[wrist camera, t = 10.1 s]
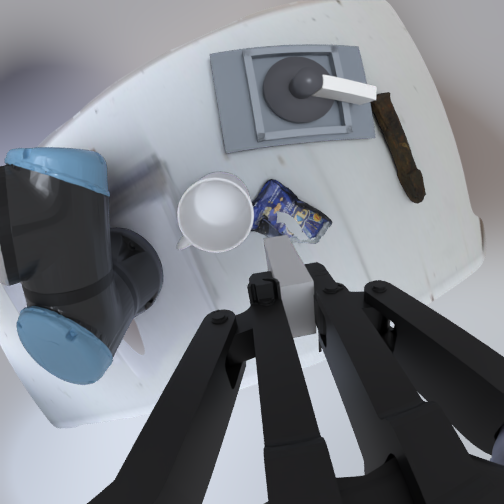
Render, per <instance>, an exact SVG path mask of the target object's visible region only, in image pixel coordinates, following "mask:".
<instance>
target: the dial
mask: <svg viewBox="0 0 504 504" xmlns="http://www.w3.org/2000/svg"><path fill="white" fill-rule="evenodd" d="M263 96H264V99H265V102H266V104H267V105H268V107H269V108H270V110H271V111H272V112H273V113H274V114H275V115H277V116H278V117H280V118H281V119H283V120H286V121H288V122H291V123H300V124H301V123H309V122H312V121H315V120H317V119H319V118H321V117H323V116H324V115H325V114H326V113H328V111H329V110H330V109H331V107H332V105H333V103H334V100H338V101H343V102H348V103H353V104H358V105H361V104H365V103H368V102H371V101H374V100H376V87H375V86H372V85H368V84H364V83H360V82H356V81H352V80H348V79H343V78H338V77H334V76H330V74H329V73H328V72H327V70H326V69H325V68H324V67H323V66H321V65H320V64H319V63H317V62H315V61H313V60H311V59H308V58H305V57H298V56H295V57H287V58H284V59H281V60H279V61H278V62H276V63H275V64H274V65H272V67H271V68H270V69H269V70H268V72H267V74H266V76H265V79H264V82H263Z"/></svg>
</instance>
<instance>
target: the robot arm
mask: <svg viewBox="0 0 504 504" xmlns="http://www.w3.org/2000/svg"><path fill="white" fill-rule="evenodd" d="M5 163H6V165H5V166H1V167H0V282H1V283H2V284H4V285H5V286H10V285H13V284H16V283H19V282H21V284H22V287H23V291H24V295H25V299H26V302H27V308H24V309H23V310H22V311H21V312H20V316H19V318H18V321H17V332H18V335H19V338H20V340H21V342H22V344H23V346H24V348H25V349H26V351H27V352H28V353H29V354H30V356H31V357H32V358H33V359H34V360H35V361H36V362H37V363H38V364H39V365H40V366H42V367H43V368H44V369H45V370H47V371H48V372H49V373H51V374H52V375H54V376H56V377H58V378H60V379H62V380H64V381H67V382H70V383H74V384H80V385H86V384H92V383H94V382H96V381H98V380H99V379H100V378H101V377H102V376H103V374H104V373H105V371H106V370H107V368H108V367H109V366H110V365H111V363H112V361H113V360H112V359H113V357H114V354H115V352H116V350H117V348H118V347H119V345H120V343H121V341H122V339H123V337H124V335H125V333H126V331H127V329H128V327H129V325H130V323H131V321H132V319H133V318H134V317H136V316H137V315H139V314H141V313H142V312H144V311H145V310H147V309H148V308H149V307H150V306H151V305H152V304H153V303H154V302H155V300H156V298H157V296H158V294H159V292H160V290H161V287H162V283H163V271H162V266H161V262H160V260H159V257H158V255H157V253H156V252H155V250H154V249H153V247H152V246H151V245H150V244H149V243H148V242H147V241H146V240H145V239H144V238H143V237H141V236H140V235H138V234H137V233H135V232H133V231H130V230H127V229H123V228H110V223H109V197H110V192H109V191H108V183H107V165H106V161H105V159H104V158H103V157H102V156H101V155H100V154H99V153H97V152H94V151H89V150H83V149H73V148H54V147H38V148H25V149H24V148H18V149H12V150H10V151H9V152H8V153H7V156H6V158H5ZM264 246H265V253H266V259H267V266H268V271H267V272H261V273H255V274H252V275H251V277H250V278H249V284H248V287H247V288H248V293H249V299H250V304H251V306H250V308H249V309H248V310H246V311H245V312H243V313H241V314H238V315H235V314H234V313H233V312H232V311H230V310H216V311H213V312H211V313H210V314H208V315H207V316H206V317H205V318H204V320H203V321H202V323H201V325H200V327H199V328H198V330H197V332H196V334H195V335H194V337H193V339H192V341H191V343H190V344H189V346H188V348H187V350H186V351H185V353H184V355H183V357H182V359H181V360H180V362H179V364H178V366H177V368H176V369H175V371H174V373H173V375H172V376H171V378H170V380H169V382H168V384H167V385H166V387H165V389H164V391H163V393H162V394H161V396H160V398H159V400H158V402H157V403H156V405H155V407H154V409H153V411H152V413H151V414H150V416H149V418H148V420H147V422H146V423H145V425H144V427H143V429H142V431H141V432H140V434H139V436H138V438H137V440H136V442H135V443H134V445H133V447H132V449H131V451H130V453H129V454H128V456H127V458H126V460H125V462H124V464H123V466H122V468H121V469H120V471H119V473H118V475H117V477H116V478H115V480H114V481H113V482H112V483H111V484H110V485H109V486H107V487H106V488H105V489H104V490H103V491H102V492H100V493H99V494H98V495H97V496H96V497H95V498H93V499H92V500H91V501H90V502H89V503H87V504H202V502H203V499H204V496H205V493H206V490H207V488H208V485H209V482H210V479H211V476H212V473H213V470H214V467H215V463H216V460H217V457H218V454H219V451H220V448H221V445H222V442H223V439H224V436H225V433H226V429H227V426H228V423H229V420H230V417H231V413H232V410H233V407H234V404H235V400H236V397H237V394H238V391H239V387H240V384H241V381H242V377H243V374H244V371H245V367H246V361H247V360H249V359H252V358H254V357H256V365H257V375H258V385H259V395H260V404H261V415H262V423H263V434H264V442H265V443H264V444H265V447H264V463H265V472H266V482H267V492H268V500H269V501H268V502H266V503H265V504H504V357H503V356H501V355H500V354H498V353H497V352H496V351H494V350H493V349H491V348H490V347H489V346H487V345H486V344H484V343H482V342H481V341H480V340H478V339H477V338H475V337H474V336H472V335H471V334H469V333H468V332H466V331H465V330H463V329H462V328H460V327H458V326H457V325H456V324H454V323H453V322H451V321H450V320H448V319H447V318H445V317H443V316H442V315H440V314H439V313H437V312H435V311H434V310H432V309H431V308H429V307H428V306H426V305H425V304H423V303H421V302H420V301H418V300H416V299H415V298H413V297H412V296H410V295H408V294H407V293H405V292H403V291H402V290H400V289H399V288H397V287H395V286H394V285H392V284H390V283H388V282H386V281H381V280H378V281H377V280H376V281H372V282H369V283H367V284H366V285H365V287H364V292H350V291H349V290H348V289H347V288H346V287H345V286H344V285H343V284H340V283H336V282H335V281H334V280H333V278H332V277H331V275H330V274H329V272H328V271H327V270H326V268H325V267H324V265H322V264H320V263H318V262H316V263H310V264H304V263H303V262H302V260H301V258H300V256H299V255H298V253H297V251H296V249H295V248H294V246H293V244H292V242H291V241H290V239H289V237H288V236H287V235H283V236H276V237H270V238H264ZM390 321H392V322H393V323H394V324H395V326H394V328H392V327H391V326H390ZM316 326H317V328H318V334H319V352H321V348H322V349H323V352H324V354H325V357H326V359H327V362H328V364H329V367H330V370H331V372H332V375H333V377H334V380H335V383H336V385H337V388H338V390H339V393H340V396H341V398H342V401H343V404H344V406H345V409H346V412H347V414H348V417H349V420H350V422H351V425H352V428H353V431H354V433H355V436H356V439H357V442H358V445H359V448H360V450H361V453H362V456H363V459H364V472H365V475H364V476H356V477H343V478H336V477H335V473H334V470H333V466H332V462H331V459H330V455H329V451H328V448H327V445H326V442H325V440H324V438H323V437H321V435H320V432H319V429H318V425H317V421H316V418H315V414H314V411H313V407H312V403H311V400H310V396H309V393H308V389H307V385H306V382H305V378H304V375H303V371H302V368H301V364H300V361H299V357H298V354H297V350H296V347H295V343H294V340H293V338H295V337H300V336H305V335H310V334H315V333H316ZM418 393H419V394H421V395H422V396H423V397H424V398H425V399H426V400H427V401H428V402H425V401H423V400H422V399H421V397H420V396H419V394H418ZM451 424H452V425H453V426H454V427H455V428H456V429H457V430H458V431H459V432H460V433H461V434H462V435H463V436H464V437H465V438H466V439H468V440H469V441H470V442H471V443H472V444H473V445H475V446H476V447H478V448H479V449H481V450H482V451H484V452H486V453H488V454H490V455H492V458H491V459H490V461H488V460H485V459H482V458H479V457H476V456H473V455H471V454H469V453H468V452H467V450H466V448H465V447H464V445H463V443H462V441H461V440H460V438H459V437H458V435H457V433H456V431H455V430H454V428H453V426H452V425H451Z"/></svg>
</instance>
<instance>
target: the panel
mask: <svg viewBox="0 0 504 504" xmlns="http://www.w3.org/2000/svg"><path fill="white" fill-rule="evenodd" d="M295 56H298V57H305V58H308V59H311V60H313V61H315V62H317V63H319V64H320V65H321V66H323V67H324V68H325V69H326V70H327V72H328V73H329V74H330V76H334V77H338V78H343V79H348V80H352V81H356V82H360V83H364V84H367V82H366V77H365V72H364V68H363V63H362V59H361V55H360V51H359V47H358V46H344V45H281V46H267V47H256V48H247V49H239V50H232V51H225V52H219V53H213V54H210V60H211V66H212V72H213V79H214V85H215V91H216V97H217V103H218V109H219V115H220V121H221V127H222V133H223V139H224V145H225V151H226V153H231V152H237V151H243V150H250V149H256V148H263V147H271V146H279V145H287V144H296V143H306V142H316V141H329V140H344V139H364V138H375V130H374V123H373V116H372V110H371V103H370V102H368V103H365V104H361V105H358V104H353V103H348V102H343V101H338V100H334V103H333V105H332V107H331V109H330V110H329V111H328V113H326V114H325V115H324V116H323V117H321V118H319V119H317V120H315V121H312V122H309V123H301V124H300V123H291V122H288V121H286V120H283V119H281V118H280V117H278V116H277V115H275V114H274V113H273V112H272V111H271V110H270V108H269V107H268V105H267V104H266V102H265V99H264V96H263V82H264V79H265V76H266V74H267V72H268V70H269V69H270V68H271V67H272V65H274V64H275V63H276V62H278V61H279V60H281V59H284V58H287V57H295Z"/></svg>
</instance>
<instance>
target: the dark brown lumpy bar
mask: <svg viewBox="0 0 504 504" xmlns="http://www.w3.org/2000/svg"><path fill="white" fill-rule="evenodd" d="M370 103H371V110H372V111H373V112H374V114H375V116H376V118H377V120H378V123H379V125H380V127H381V129H382V131H383V133H384V136H385V140H386V141H387V143H388V146H389V149H390V151H391V153H392V156H393V158H394V161H395V164H396V167H397V170H398V173H397V176H398V178H399V180H400V183H401V185H402V186H403V188H404V190H405V192H406V193H407V195H408V197H409V198H410V200H411V201H412V202H414V203H420V202H422V201H423V199H424V196H425V195H426V193H425V188H424V183H423V177H422V173H421V171H420V170H418V169H417V167H416V164H415V162H414V159H413V156H412V153H411V150H410V147H409V144H408V141H407V138H406V136H405V133H404V130H403V128H402V126H401V123H400V121H399V118H398V116H397V114H396V112H395V109H394V107H393V105H392V102H391V100H390V93H389V92H387V93H381V94H377V95H376V100H374V101H371V102H370Z"/></svg>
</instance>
